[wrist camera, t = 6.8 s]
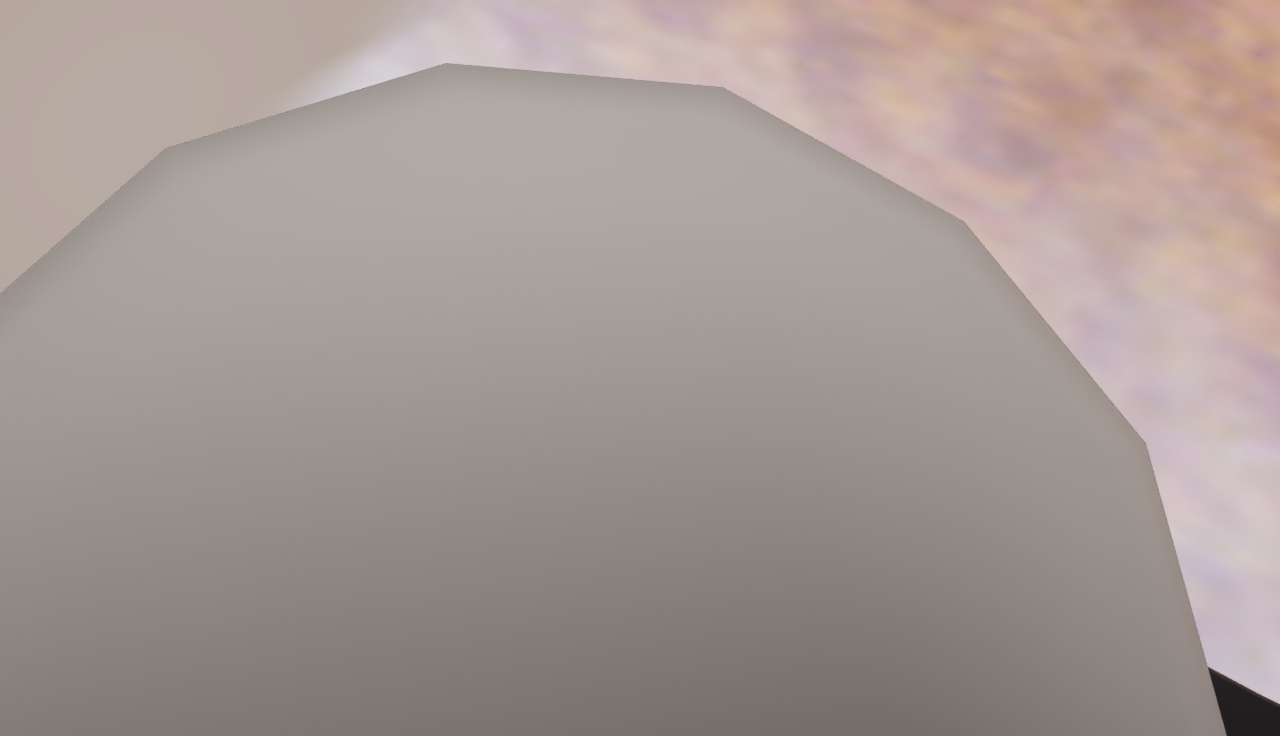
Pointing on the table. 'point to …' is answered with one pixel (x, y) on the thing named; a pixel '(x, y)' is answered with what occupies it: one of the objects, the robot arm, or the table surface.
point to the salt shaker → (562, 444)
